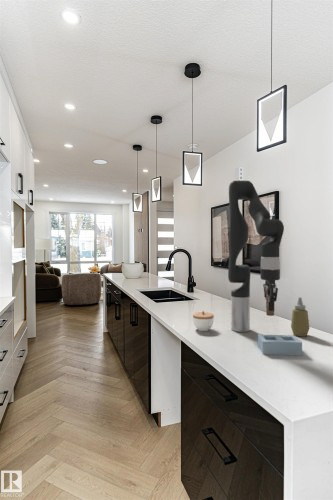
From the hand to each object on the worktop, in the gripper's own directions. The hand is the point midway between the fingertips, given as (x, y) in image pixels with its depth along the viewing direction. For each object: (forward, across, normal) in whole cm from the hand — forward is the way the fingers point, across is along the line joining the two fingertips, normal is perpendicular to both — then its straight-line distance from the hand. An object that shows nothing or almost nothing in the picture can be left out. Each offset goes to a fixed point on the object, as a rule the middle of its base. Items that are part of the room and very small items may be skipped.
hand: (270, 309), depth 118 cm
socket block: (+17, 0, +4) cm, 17 cm away
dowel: (+2, 0, 0) cm, 2 cm away
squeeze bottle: (+17, -22, +20) cm, 34 cm away
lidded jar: (+17, -28, -26) cm, 42 cm away
